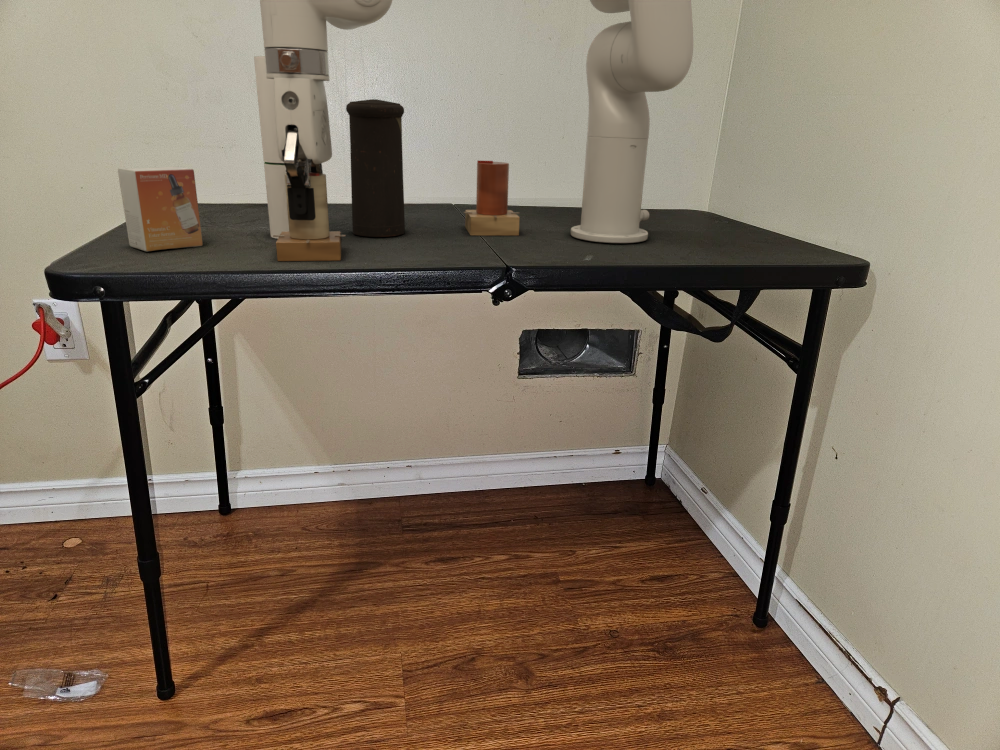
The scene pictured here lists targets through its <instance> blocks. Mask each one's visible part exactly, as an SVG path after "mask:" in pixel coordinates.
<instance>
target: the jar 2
mask: <svg viewBox="0 0 1000 750" xmlns="http://www.w3.org/2000/svg"><path fill="white" fill-rule="evenodd" d="M509 178H510V163H509V162H503V161H493V160H479V159H478V160H477V161H476V197H475V198H476V202H475V203H476V204H475V205H476V206H475V210H476V213H478V214H483V215H505V214H507V211H508V210H509V180H510V179H509Z"/></svg>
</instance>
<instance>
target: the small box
mask: <svg viewBox="0 0 1000 750" xmlns="http://www.w3.org/2000/svg"><path fill="white" fill-rule="evenodd" d="M117 177H118V181H119V189H120V195H121V199H122V206H123V207H122V208H123V212H124V219H125V225H126V232H127V238H128V239H127V240H128V244H129V246H130V247H131V248H134V249H137V250H139V251H140V250H141V251H144V252H153V251H160V250H170V249H183V248H196V247H202V246H203V235H202V225H201V218H200V209H199V202H198V194H197V186H196V177H195V169H193V168H190V167H184V166H179V165H171V166H152V167H151V166H150V167H118V168H117Z"/></svg>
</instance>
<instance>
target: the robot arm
mask: <svg viewBox="0 0 1000 750" xmlns="http://www.w3.org/2000/svg"><path fill="white" fill-rule="evenodd" d="M393 1H394V0H259V4H260V5H259V6H260V16H261V17H260V18H261V27H262V38H263V48H264V50H263V51H264V56H265V63H266V73H267V74H266V75H267V78H269V79H274V105H275V125H276V138H277V148H278V154H279V158H280V160H282V161H283V162H284V164H285V167H286V172H287V173H286V174H287V187H288V188H287V192H288V204H289V216H290V219H292V220H314V219H315V217H316V216H315V201H314V188H311V172H312V173H322V174H324V172H323V163H326V162H328V161H330V160H331V159H332V157H333V148H332V136H331V126H330V116H329V108H328V107H329V106H328V98H327V93H326V87H325V82H330V81H331V80H330V63H329V45H328V27H327V26H328V25H327V23H328V24H329V25H331V26H333V27H335V28H336V29H340V30H347V31H348V30H349V31H350V30H355V29H358V28H360V27H365V26H367V25H371V24H373V23H375V22H378V21H380V20H381V19H382V18H383V17H385V15H387V13H388V11H389V10H390V8H391V6H392V4H393ZM589 2H590V3H591V5H592V6H593V8H595V9H596V10H597V11H599V12H601V13H605V14H618V13H625V12H626V13H627V12H629V15H630V21H624V22H618V23H614V24H612V25H610V26H608V27H606V28H604V29H602V30H601V31H599V32H598V34H597V35H595V37H594V38H593V40H592V41H591V43H590V45H589V48H588V51H587V54H586V59H585V61H586V62H585V70H586V82H587V94H588V116H587V132H586V141H585V142H586V143H585V156H584V157H585V158H584V172H583V174H584V175H583V187H582V199H581V201H582V202H581V215H580V224H578V225H574V226H572V227H571V228H570V236H571V237H573V238H575V239H578V240H582V241H588V242H595V243H604V244H634V243H635V244H636V243H642V242H645V241H647V240H648V237H649V232H648V231H647V230H645V229H643V228H640V223H642V222H646V221H648V220H649V218H650V212H649V211H648V210H647V209H642V203H643V192H644V184H645V183H644V182H645V175H646V174H645V172H646V163H647V153H648V145H649V136H650V122H651V121H650V120H651V118H650V110H649V105H648V100H647V95H646V93H659V92H665V91H670V90H672V89H674V88H675V87H677V86H678V85H679V84H681V83H682V81H683V80H684V79H685V78H686V77H687V75H688V73H689V70H690V68H691V66H692V61H693V56H694V27H693V10H692V9H693V8H692V7H693V6H692V0H589ZM298 161H299V162H298Z"/></svg>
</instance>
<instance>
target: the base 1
mask: <svg viewBox="0 0 1000 750" xmlns="http://www.w3.org/2000/svg"><path fill="white" fill-rule="evenodd" d="M329 234H330V236H329V237H327V238H322V239H295V238H291V237H290V235H289V232H281V234H280V235H273V237H279V238H278V239H277V240H276V242H275V249H276V258H277V259H276V261H277V262H322V261H323V262H326V261H327V262H329V261H331V262H332V261H333V262H335V261H336V262H337V261H341V260H342V237H346V234H342V232H341V230H339V231H338V230H336V231H334V230H332V231H330V230H329Z"/></svg>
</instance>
